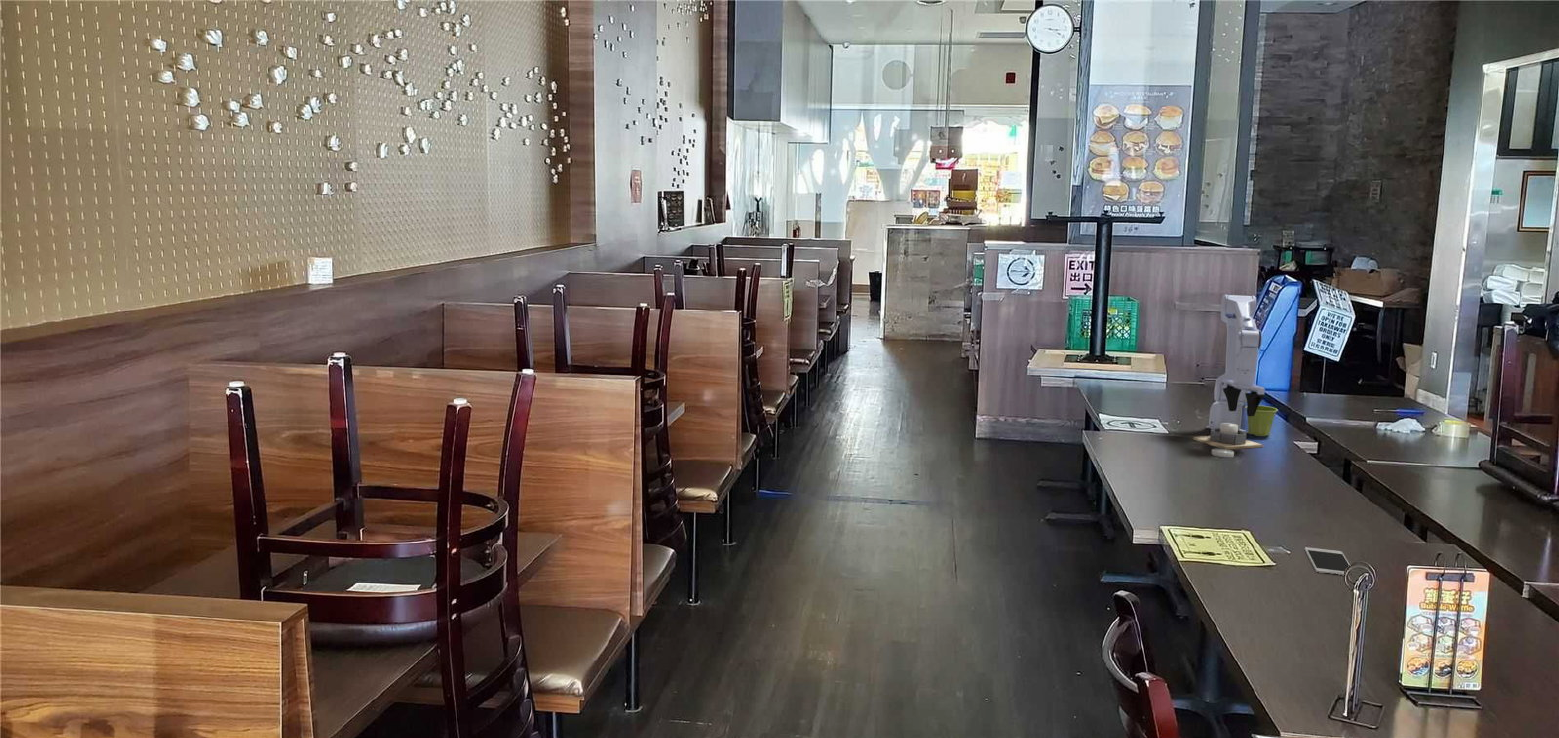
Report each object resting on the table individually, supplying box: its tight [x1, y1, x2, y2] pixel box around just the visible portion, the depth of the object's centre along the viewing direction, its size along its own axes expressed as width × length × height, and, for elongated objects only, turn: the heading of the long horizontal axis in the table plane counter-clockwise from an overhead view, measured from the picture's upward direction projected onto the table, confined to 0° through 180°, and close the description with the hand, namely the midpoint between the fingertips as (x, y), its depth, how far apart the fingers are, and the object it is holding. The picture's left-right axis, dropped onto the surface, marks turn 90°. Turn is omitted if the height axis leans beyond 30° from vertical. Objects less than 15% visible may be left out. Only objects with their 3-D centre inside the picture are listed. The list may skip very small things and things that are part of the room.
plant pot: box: [1245, 404, 1279, 437], centre depth 336 cm, size 9×9×9 cm
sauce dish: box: [1211, 448, 1235, 459], centre depth 307 cm, size 6×6×2 cm
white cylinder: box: [1220, 423, 1238, 434], centre depth 322 cm, size 5×5×5 cm
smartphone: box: [1304, 546, 1351, 577], centre depth 215 cm, size 7×15×1 cm, turn 162°
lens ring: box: [1209, 428, 1248, 445], centre depth 322 cm, size 10×10×3 cm
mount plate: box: [1192, 435, 1264, 451], centre depth 323 cm, size 14×14×1 cm
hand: (1241, 413), depth 320 cm, fingers open, 7 cm apart
